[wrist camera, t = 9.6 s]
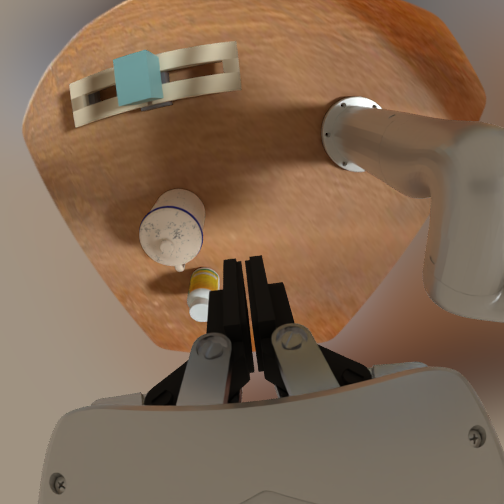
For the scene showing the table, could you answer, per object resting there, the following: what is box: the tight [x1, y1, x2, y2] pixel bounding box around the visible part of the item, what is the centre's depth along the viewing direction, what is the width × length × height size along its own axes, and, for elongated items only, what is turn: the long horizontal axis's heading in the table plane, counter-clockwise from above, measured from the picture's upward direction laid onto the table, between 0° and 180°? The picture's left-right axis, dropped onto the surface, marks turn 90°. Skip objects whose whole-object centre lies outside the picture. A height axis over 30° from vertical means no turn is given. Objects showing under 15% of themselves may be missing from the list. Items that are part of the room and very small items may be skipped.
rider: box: [113, 50, 164, 106], centre depth 27 cm, size 4×6×8 cm, turn 6°
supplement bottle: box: [187, 267, 220, 322], centre depth 47 cm, size 5×5×10 cm
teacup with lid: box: [139, 189, 205, 272], centre depth 40 cm, size 12×9×12 cm
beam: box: [69, 41, 242, 128], centre depth 31 cm, size 24×8×5 cm, turn 95°
